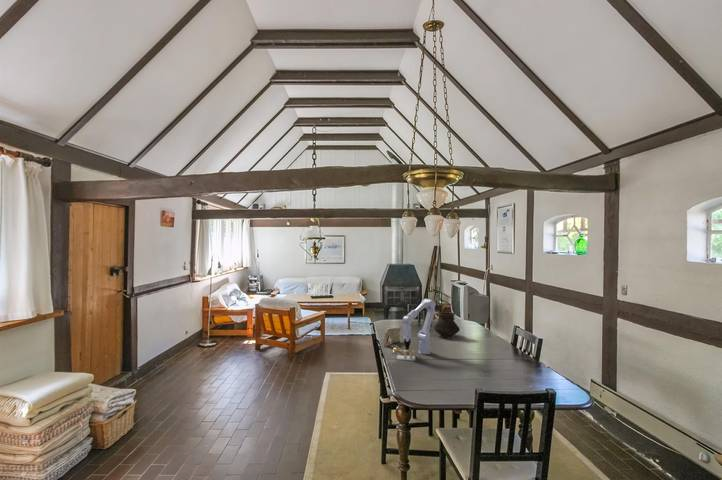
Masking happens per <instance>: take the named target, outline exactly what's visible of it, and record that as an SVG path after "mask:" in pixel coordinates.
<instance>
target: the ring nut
mask: <svg viewBox="0 0 722 480" xmlns="http://www.w3.org/2000/svg"><path fill="white" fill-rule="evenodd" d="M392 349H393V352H400V350H401V347H399V346H398V345H397V344H396V345H395V346H393V347H392Z"/></svg>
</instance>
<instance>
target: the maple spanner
mask: <svg viewBox="0 0 722 480" xmlns="http://www.w3.org/2000/svg"><path fill="white" fill-rule="evenodd" d="M405 352H406V355H407V356H410V353H411V356H415V355H414V353H415V350H410V349H409V350H406V349H405V350H404V349H400V354H399V355H405Z"/></svg>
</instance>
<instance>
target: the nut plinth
mask: <svg viewBox="0 0 722 480" xmlns="http://www.w3.org/2000/svg"><path fill="white" fill-rule="evenodd" d="M391 354H392V355H400V352H393V348H392V349H391V350H390V355H391Z"/></svg>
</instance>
